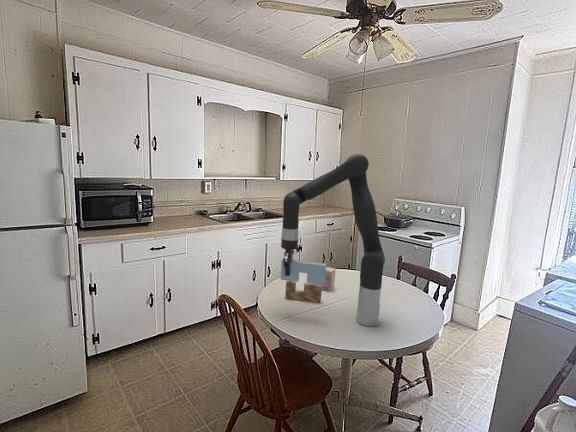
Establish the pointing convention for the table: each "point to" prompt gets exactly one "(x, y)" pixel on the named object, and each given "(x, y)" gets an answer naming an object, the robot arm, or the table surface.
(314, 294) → the slotted board
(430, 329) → the table surface
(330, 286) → the box
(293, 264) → the notched plate
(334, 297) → the table surface
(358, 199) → the robot arm
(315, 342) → the table surface
